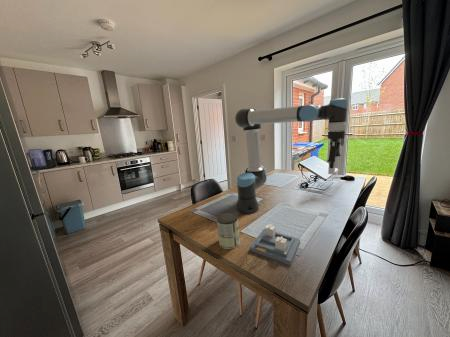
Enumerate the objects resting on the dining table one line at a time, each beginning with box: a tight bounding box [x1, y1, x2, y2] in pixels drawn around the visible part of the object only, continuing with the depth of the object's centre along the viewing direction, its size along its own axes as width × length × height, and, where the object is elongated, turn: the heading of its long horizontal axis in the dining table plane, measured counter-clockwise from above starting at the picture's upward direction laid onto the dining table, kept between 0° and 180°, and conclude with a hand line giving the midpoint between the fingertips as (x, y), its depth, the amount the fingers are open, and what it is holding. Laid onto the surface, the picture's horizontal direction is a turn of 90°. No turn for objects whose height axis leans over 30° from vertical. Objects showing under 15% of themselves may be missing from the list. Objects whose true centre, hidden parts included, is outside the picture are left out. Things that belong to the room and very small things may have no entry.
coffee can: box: [215, 211, 241, 250], centre depth 87 cm, size 10×10×14 cm
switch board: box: [249, 228, 301, 266], centre depth 83 cm, size 18×16×3 cm
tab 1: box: [264, 223, 276, 238], centre depth 87 cm, size 4×3×6 cm
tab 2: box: [275, 236, 287, 252], centre depth 77 cm, size 4×3×6 cm
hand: (333, 170), depth 98 cm, fingers open, 13 cm apart
